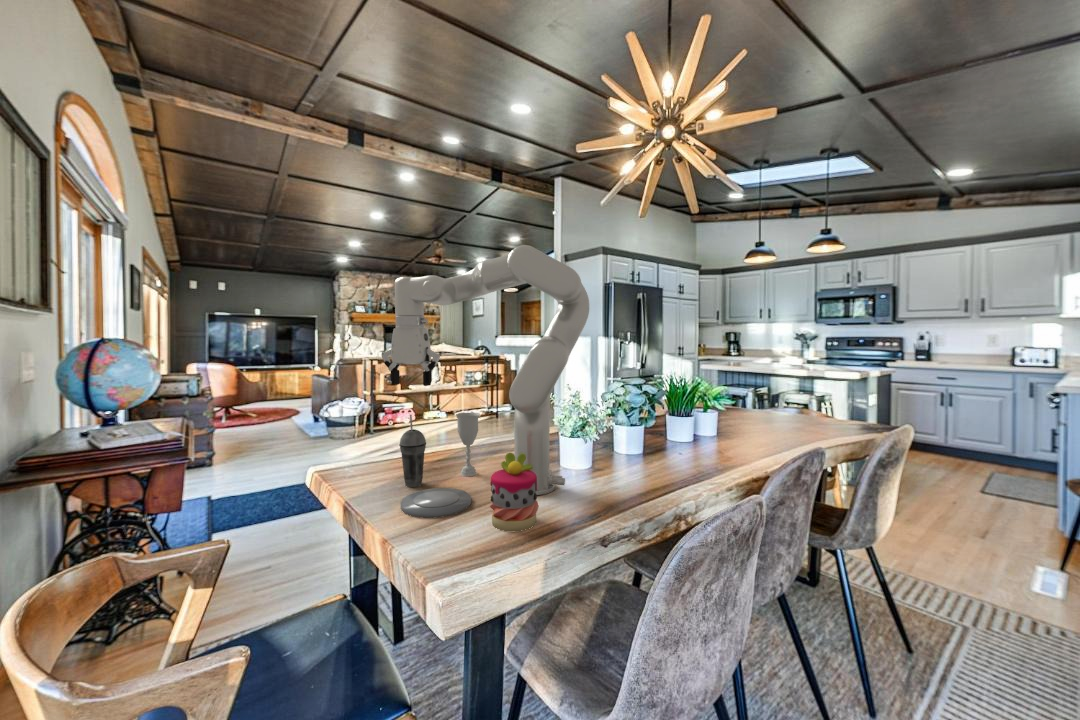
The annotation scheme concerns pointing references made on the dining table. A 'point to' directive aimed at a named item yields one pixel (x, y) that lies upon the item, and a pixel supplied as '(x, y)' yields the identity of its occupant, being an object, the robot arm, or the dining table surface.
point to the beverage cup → (412, 456)
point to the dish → (435, 502)
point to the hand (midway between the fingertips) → (411, 385)
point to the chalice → (468, 437)
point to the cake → (514, 495)
